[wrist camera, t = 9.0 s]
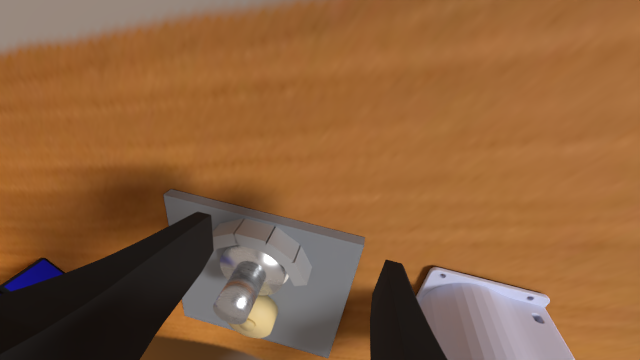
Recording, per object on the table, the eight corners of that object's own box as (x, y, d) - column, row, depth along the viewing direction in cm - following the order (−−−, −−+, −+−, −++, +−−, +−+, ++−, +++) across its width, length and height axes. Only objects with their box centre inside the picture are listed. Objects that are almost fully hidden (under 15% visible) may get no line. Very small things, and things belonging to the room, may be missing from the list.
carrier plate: (364, 237, 23) (362, 267, 20) (329, 349, 32) (324, 381, 29) (170, 188, 25) (142, 210, 22) (189, 308, 34) (171, 334, 31)
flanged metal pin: (289, 242, 24) (266, 295, 19) (288, 288, 27) (267, 344, 22) (225, 229, 24) (187, 277, 20) (230, 275, 27) (199, 326, 23)
